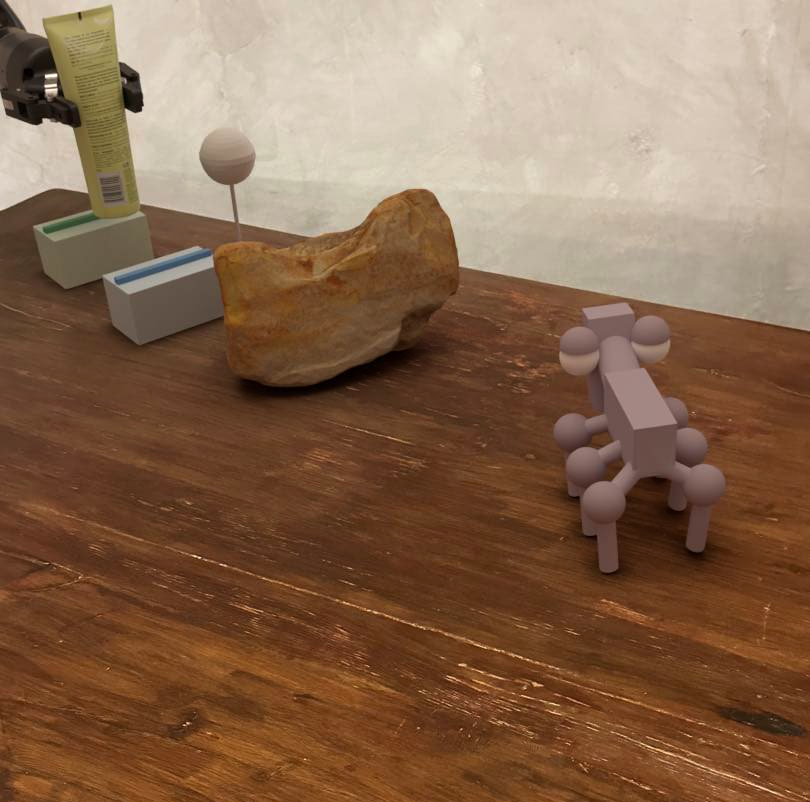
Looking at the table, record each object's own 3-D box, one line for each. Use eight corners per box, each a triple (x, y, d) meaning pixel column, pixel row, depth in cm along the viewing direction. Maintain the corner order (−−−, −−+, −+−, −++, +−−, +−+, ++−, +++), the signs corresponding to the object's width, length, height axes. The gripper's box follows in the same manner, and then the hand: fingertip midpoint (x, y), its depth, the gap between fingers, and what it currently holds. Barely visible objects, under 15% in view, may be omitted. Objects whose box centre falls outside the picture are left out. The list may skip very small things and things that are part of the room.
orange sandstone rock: (414, 297, 121) (399, 155, 112) (479, 350, 107) (467, 194, 99) (204, 350, 115) (171, 204, 107) (245, 413, 101) (212, 253, 93)
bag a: (139, 346, 113) (126, 288, 109) (112, 325, 117) (100, 269, 113) (233, 312, 118) (225, 256, 114) (205, 294, 122) (196, 239, 118)
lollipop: (279, 257, 129) (263, 124, 120) (248, 276, 125) (229, 140, 116) (236, 248, 132) (217, 117, 123) (205, 267, 128) (183, 133, 119)
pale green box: (65, 289, 124) (52, 236, 121) (44, 273, 128) (31, 220, 125) (155, 261, 130) (145, 209, 126) (131, 246, 133) (121, 195, 130)
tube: (103, 200, 120) (61, 3, 109) (149, 200, 120) (112, 2, 108) (86, 221, 116) (41, 18, 104) (134, 221, 116) (94, 17, 104)
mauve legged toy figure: (526, 434, 96) (530, 286, 88) (648, 422, 97) (663, 274, 89) (581, 580, 80) (592, 416, 72) (726, 565, 81) (753, 400, 73)
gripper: (-37, 51, 115) (28, 85, 104) (93, 24, 121) (167, 54, 111) (-17, 125, 119) (47, 165, 109) (107, 96, 126) (179, 131, 115)
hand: (107, 109), depth 110 cm, fingers closed on tube, 6 cm apart
